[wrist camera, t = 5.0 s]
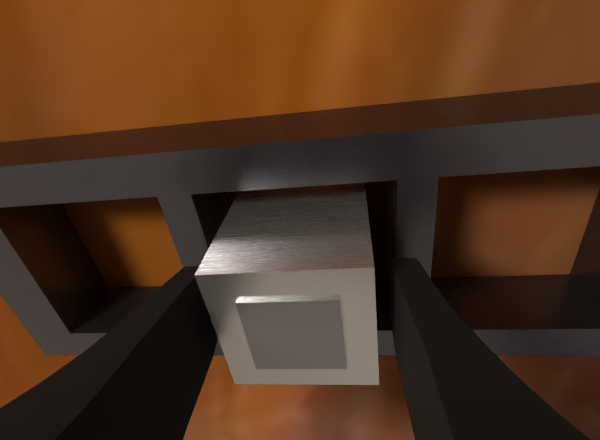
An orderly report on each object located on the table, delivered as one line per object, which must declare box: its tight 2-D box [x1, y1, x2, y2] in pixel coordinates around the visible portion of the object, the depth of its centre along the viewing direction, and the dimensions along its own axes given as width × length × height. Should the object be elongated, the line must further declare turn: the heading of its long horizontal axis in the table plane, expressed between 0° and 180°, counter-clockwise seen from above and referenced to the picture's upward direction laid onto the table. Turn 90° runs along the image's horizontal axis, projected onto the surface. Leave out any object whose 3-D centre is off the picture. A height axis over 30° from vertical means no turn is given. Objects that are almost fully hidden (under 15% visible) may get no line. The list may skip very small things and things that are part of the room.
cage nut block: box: [194, 182, 379, 385], centre depth 11 cm, size 4×4×5 cm
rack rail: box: [0, 83, 600, 355], centre depth 12 cm, size 22×8×2 cm, turn 97°
